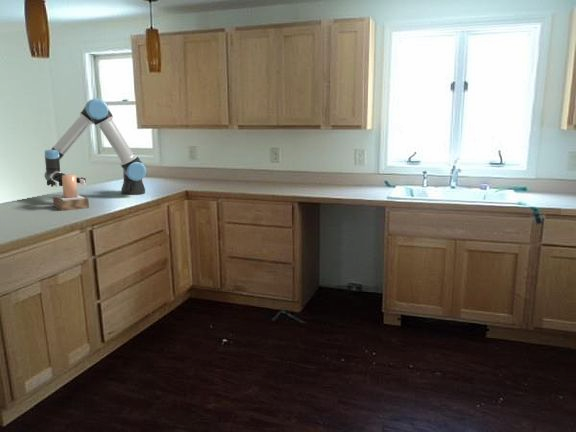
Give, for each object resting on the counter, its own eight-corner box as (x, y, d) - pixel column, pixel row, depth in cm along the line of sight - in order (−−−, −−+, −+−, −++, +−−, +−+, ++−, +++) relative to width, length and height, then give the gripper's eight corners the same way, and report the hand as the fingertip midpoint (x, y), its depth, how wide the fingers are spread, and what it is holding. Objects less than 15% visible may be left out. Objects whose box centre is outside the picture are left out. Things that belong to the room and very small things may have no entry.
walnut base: (79, 203, 263) (79, 194, 262) (88, 207, 253) (88, 197, 252) (53, 206, 253) (52, 196, 252) (61, 210, 243) (61, 200, 242)
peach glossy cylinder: (75, 195, 257) (73, 174, 254) (79, 197, 252) (78, 175, 249) (61, 196, 252) (60, 174, 250) (65, 198, 247) (64, 176, 245)
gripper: (81, 183, 272) (95, 188, 257) (35, 186, 256) (47, 192, 240) (81, 171, 271) (94, 175, 255) (34, 173, 254) (45, 178, 239)
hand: (71, 183), depth 248 cm, fingers open, 13 cm apart
